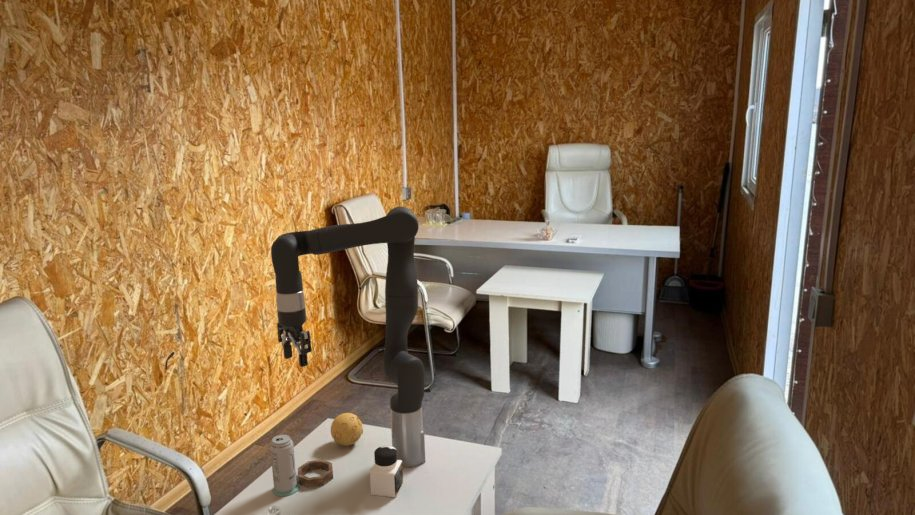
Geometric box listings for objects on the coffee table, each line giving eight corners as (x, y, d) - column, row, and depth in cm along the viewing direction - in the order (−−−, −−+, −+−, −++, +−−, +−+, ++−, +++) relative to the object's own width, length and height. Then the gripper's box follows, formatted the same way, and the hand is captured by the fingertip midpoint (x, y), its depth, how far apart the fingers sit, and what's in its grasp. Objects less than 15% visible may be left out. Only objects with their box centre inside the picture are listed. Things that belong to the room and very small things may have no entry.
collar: (332, 465, 180) (331, 458, 179) (333, 484, 171) (333, 476, 170) (298, 470, 178) (297, 462, 177) (298, 489, 168) (297, 481, 168)
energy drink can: (296, 492, 166) (292, 443, 163) (273, 496, 165) (269, 446, 162) (296, 480, 172) (292, 431, 169) (274, 483, 171) (270, 434, 167)
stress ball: (331, 443, 194) (321, 437, 185) (342, 413, 198) (333, 405, 189) (360, 451, 192) (351, 446, 183) (370, 421, 196) (362, 414, 187)
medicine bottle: (395, 498, 164) (394, 457, 161) (370, 495, 165) (368, 455, 163) (403, 482, 171) (401, 443, 168) (379, 480, 172) (377, 441, 169)
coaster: (299, 479, 173) (299, 478, 173) (299, 494, 166) (299, 492, 166) (273, 483, 172) (273, 482, 171) (272, 498, 165) (272, 496, 165)
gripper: (316, 309, 165) (321, 364, 169) (290, 298, 176) (295, 351, 179) (291, 315, 160) (296, 373, 164) (266, 304, 170) (271, 358, 174)
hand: (295, 361), depth 172 cm, fingers open, 8 cm apart
